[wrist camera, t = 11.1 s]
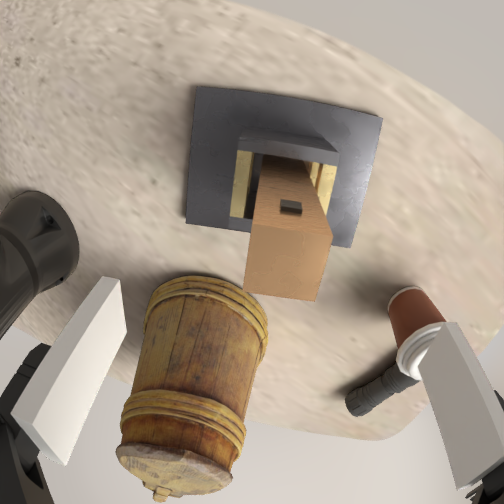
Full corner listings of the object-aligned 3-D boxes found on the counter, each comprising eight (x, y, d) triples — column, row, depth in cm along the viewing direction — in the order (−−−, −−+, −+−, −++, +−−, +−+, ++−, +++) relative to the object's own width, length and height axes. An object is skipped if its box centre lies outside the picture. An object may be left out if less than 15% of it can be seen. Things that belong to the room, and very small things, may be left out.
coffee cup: (441, 279, 40) (477, 333, 30) (422, 327, 45) (448, 383, 34) (387, 276, 41) (416, 336, 30) (371, 327, 45) (390, 388, 35)
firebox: (188, 219, 39) (166, 255, 31) (199, 86, 31) (175, 85, 23) (348, 243, 39) (365, 284, 31) (379, 117, 31) (411, 126, 23)
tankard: (285, 292, 43) (288, 469, 21) (241, 391, 54) (227, 519, 32) (155, 256, 42) (68, 411, 20) (144, 365, 53) (100, 486, 31)
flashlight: (358, 400, 55) (362, 423, 50) (340, 391, 53) (344, 415, 48) (422, 357, 48) (431, 379, 44) (408, 344, 47) (417, 368, 42)
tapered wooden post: (259, 184, 35) (242, 291, 17) (264, 147, 33) (252, 219, 15) (294, 190, 35) (314, 301, 17) (301, 153, 33) (334, 231, 15)
